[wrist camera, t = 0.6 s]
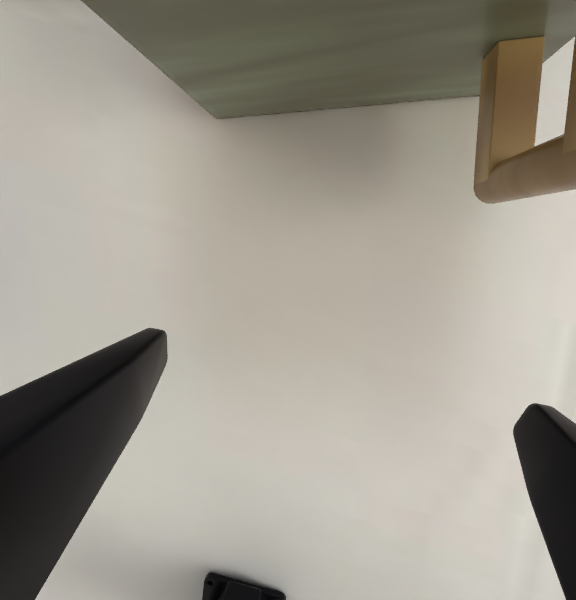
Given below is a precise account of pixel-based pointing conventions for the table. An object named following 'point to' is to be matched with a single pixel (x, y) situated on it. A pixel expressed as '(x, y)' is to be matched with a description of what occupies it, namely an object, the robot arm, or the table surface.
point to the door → (373, 66)
